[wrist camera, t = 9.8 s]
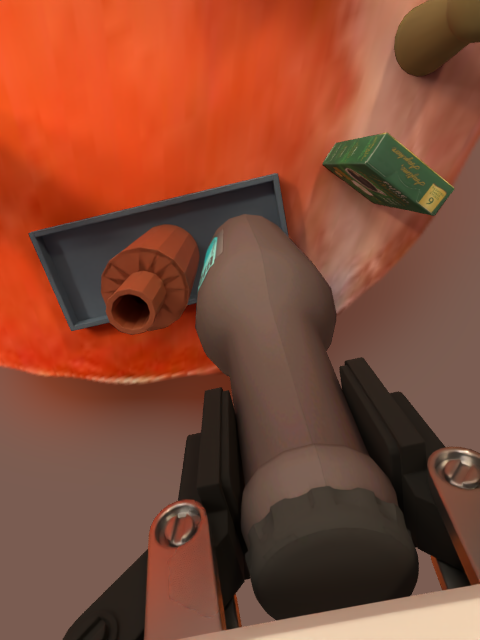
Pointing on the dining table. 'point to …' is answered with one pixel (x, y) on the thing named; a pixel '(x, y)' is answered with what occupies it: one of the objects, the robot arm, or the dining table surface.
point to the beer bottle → (297, 432)
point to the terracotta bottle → (150, 280)
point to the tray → (128, 225)
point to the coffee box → (388, 174)
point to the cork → (436, 34)
